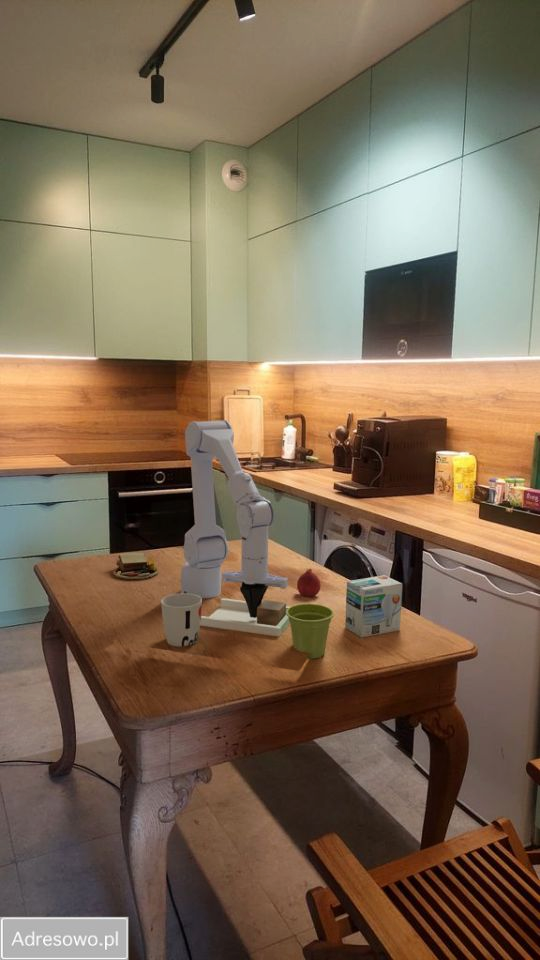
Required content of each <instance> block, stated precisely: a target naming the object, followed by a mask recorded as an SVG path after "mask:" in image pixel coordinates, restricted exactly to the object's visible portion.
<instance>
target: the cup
mask: <svg viewBox="0 0 540 960" xmlns="http://www.w3.org/2000/svg"><path fill="white" fill-rule="evenodd" d="M202 602H203V598H201V597H200V596H198V595H194V594H187V592H185V593H182V594H181V593H174V594H173V593H172V594H170V595H167V596H164V597H163V598H162V599H161V601H160V604H161V617H162V624H163V631H164V634H165V639H166V641H167V643H168V645H170V646H174V647H188V646H191V645H194V644H196V642H197V640H198V638H199V634H200V627H201V625H200V622H201V616H202V606H203V603H202ZM171 651H172V652H175V653H181V651H179V650H174V649H173V650H171Z"/></svg>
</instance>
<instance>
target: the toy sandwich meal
mask: <svg viewBox="0 0 540 960" xmlns="http://www.w3.org/2000/svg"><path fill="white" fill-rule="evenodd" d="M118 559H119V560H117V561H116V566H118V567H116V568H115V569H113V571H112V573H113V574H114V576H116V578H118V577H120V578H125V579H142V580H145V578H147V579H150V578H149V577H151V578H153V577H155V576H156V575H157V574H158V573H159V572H160V569H159V567H157V566H156V563H155V560H154V559H153V557H152V556H149V557H148V559H147V558H146V553H144V552H139V551H137V552H122V553H119V554H118ZM118 571H121V573H120V575H119V574H117V572H118ZM154 575H155V576H154ZM152 576H153V577H152ZM120 578H119V579H120ZM125 579H124V580H125Z"/></svg>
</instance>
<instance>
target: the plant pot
mask: <svg viewBox="0 0 540 960" xmlns="http://www.w3.org/2000/svg"><path fill="white" fill-rule="evenodd" d="M334 614H335V613H334V610H333V609H332V608H330V607H328V606H326V605H323V604H317V603H300V604H295V605H291V606H289V608H288V609H287V610H286V615H287V616H288V618H289V622H290V624H289V625H290V629H291V637H292V638H291V639H292V647H293V649H294V650H297V651H298V652H301V653H308V655H307V657H306V659H309V660H313V659H318V658H321V657H323V656H324V654H326V653H325V652H326V646H327V640H328V634H329V627H330V624H331V621H332V618H333V617H334Z"/></svg>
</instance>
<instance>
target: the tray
mask: <svg viewBox="0 0 540 960" xmlns="http://www.w3.org/2000/svg"><path fill="white" fill-rule="evenodd" d="M289 607H290V606H287V605H286V610H287V609H288V608H289ZM289 625H291V624H290V622H289V618H288V616H287V615H285V616H284V618H283V619H282V620H281V621H280V622H279V624H278V625H277V626H271V625H264V624H257V617H256V618H252V617H250V614H249V610H248V606H247V603H246V601H245V600H241V599H233V598H225V597H222V598H220V607H218V608H216V610H215V611H213V613H212V614H210V616H205V615H204V616H203V615H201V622H200V627H201V626H203V627H210V628H216V629H224V630H230V631H237V632H244V633H252V634H259V635H265V636H272V637H281V635H282V634H283V632H284V631H285V630H286V629H287V627H289Z"/></svg>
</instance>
